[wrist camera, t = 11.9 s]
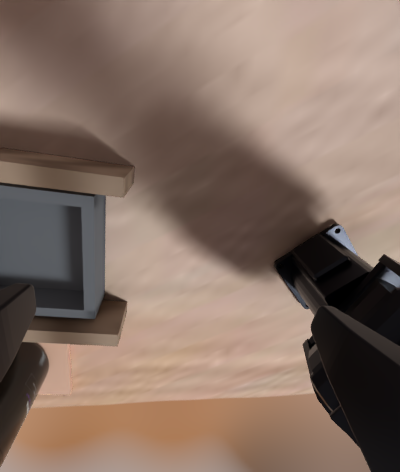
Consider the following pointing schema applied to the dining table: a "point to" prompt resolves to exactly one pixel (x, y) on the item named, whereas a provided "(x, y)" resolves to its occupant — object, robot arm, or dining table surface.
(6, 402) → the supplement bottle
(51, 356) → the tile
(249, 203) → the dining table surface
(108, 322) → the walled lane
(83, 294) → the box
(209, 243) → the dining table surface
